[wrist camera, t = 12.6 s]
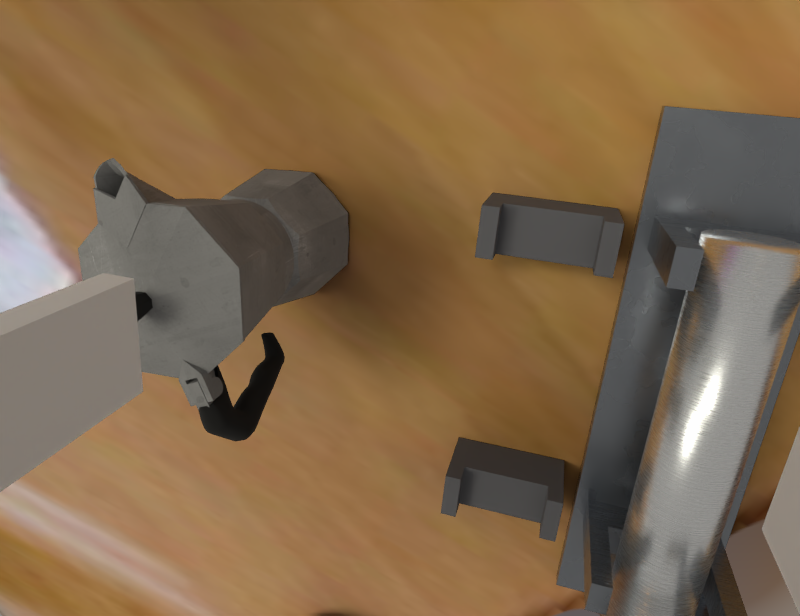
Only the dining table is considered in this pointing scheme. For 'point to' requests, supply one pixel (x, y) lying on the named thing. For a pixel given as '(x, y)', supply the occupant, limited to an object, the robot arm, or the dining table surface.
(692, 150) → the grey tube stand
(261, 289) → the coffeepot
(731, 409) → the tube
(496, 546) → the dining table surface
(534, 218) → the rest chocks
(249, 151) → the dining table surface
